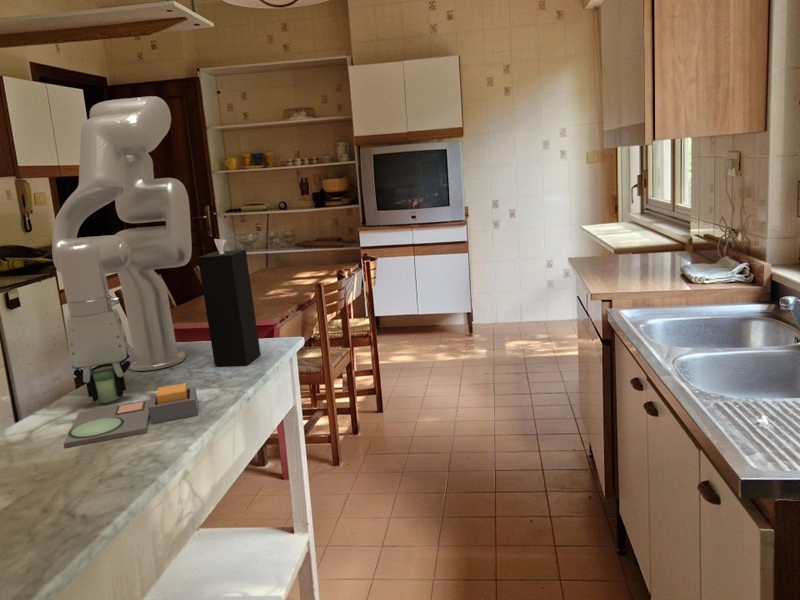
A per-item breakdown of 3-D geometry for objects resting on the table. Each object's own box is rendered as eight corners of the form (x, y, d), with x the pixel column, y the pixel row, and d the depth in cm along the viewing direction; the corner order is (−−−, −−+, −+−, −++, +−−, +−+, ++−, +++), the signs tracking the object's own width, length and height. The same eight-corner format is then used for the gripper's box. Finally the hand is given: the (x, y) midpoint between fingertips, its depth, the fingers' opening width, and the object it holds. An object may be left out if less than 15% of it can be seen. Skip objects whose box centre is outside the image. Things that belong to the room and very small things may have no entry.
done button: (160, 400, 127) (157, 387, 126) (187, 395, 128) (185, 383, 128) (158, 408, 122) (156, 396, 122) (187, 403, 123) (185, 391, 123)
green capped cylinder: (99, 397, 136) (93, 368, 135) (121, 393, 137) (115, 365, 136) (96, 404, 132) (90, 375, 131) (119, 400, 134) (113, 371, 132)
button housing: (153, 409, 128) (151, 394, 128) (197, 401, 130) (195, 386, 130) (151, 423, 121) (148, 407, 120) (198, 415, 123) (195, 399, 122)
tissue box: (247, 365, 151) (228, 239, 145) (214, 367, 152) (194, 242, 147) (261, 355, 158) (244, 235, 153) (229, 356, 160) (211, 237, 154)
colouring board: (79, 416, 129) (78, 411, 128) (152, 403, 132) (151, 398, 132) (64, 448, 114) (63, 442, 113) (146, 432, 117) (145, 427, 117)
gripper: (137, 296, 136) (154, 383, 141) (46, 310, 132) (66, 399, 136) (134, 304, 129) (152, 395, 134) (38, 318, 125) (59, 412, 129)
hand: (108, 396), depth 135 cm, fingers closed on green capped cylinder, 4 cm apart
